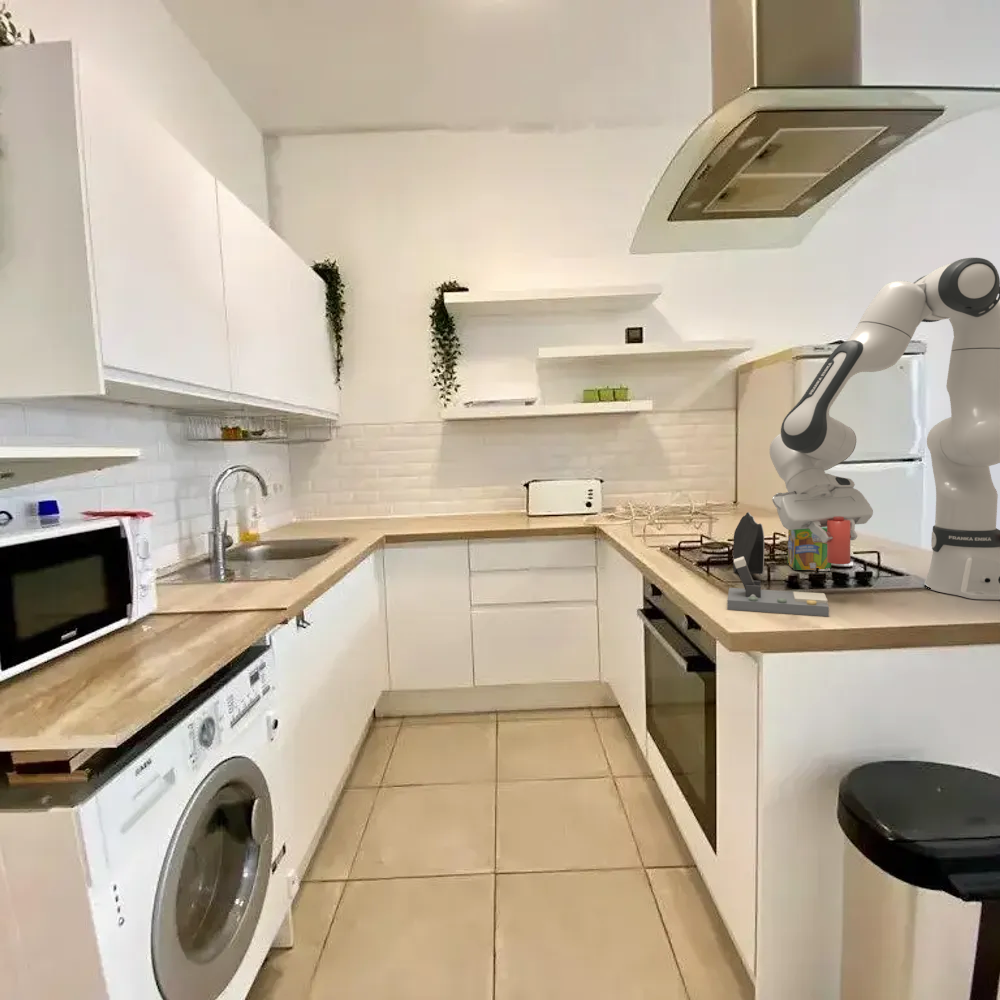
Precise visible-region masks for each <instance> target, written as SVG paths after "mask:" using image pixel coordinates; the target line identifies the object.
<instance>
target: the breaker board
mask: <svg viewBox="0 0 1000 1000" xmlns="http://www.w3.org/2000/svg"><path fill="white" fill-rule="evenodd" d="M753 581H754V583H755V585H746V590H745V588H740V587H739V588H737V587H729V588H728V593H727V600H726V601H727V603H726V605H727V607H726V608H727V610H728V611H729V610H730V611H743V612H759V613H760V612H761V613H774V614H785V615H787V614H788V615H802V616H812V617H813V616H817V617H830V615H829V612H830V607H829V604H828V601H829V600H828V598H827V597H826V594H825V593H823V592H807V591H792V590H791V591H789V590H775V589H774V590H773V589H772V590H771V589H762V586H761V585H762V584H761V583H762V582H761V580H754V579H753Z"/></svg>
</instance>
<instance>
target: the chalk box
mask: <svg viewBox="0 0 1000 1000" xmlns="http://www.w3.org/2000/svg"><path fill="white" fill-rule="evenodd" d="M821 528H822V529H823V530H825V531H826V532H827V527H821ZM787 530H788V529H787ZM787 533H788V535H787V536H788V537H787V564H788V563H789V565H788V566H789V567H790V568H793V571H795V570H815V569H816V568H819V569H826V568H831V569H832V563H828V562H827V542H826V543H823V542H822V540H821V539H820V537H818V536H817V535H815V534H814V533H813V532H811V530H810V529H809V528H807V529H795V530H788V532H787Z"/></svg>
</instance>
